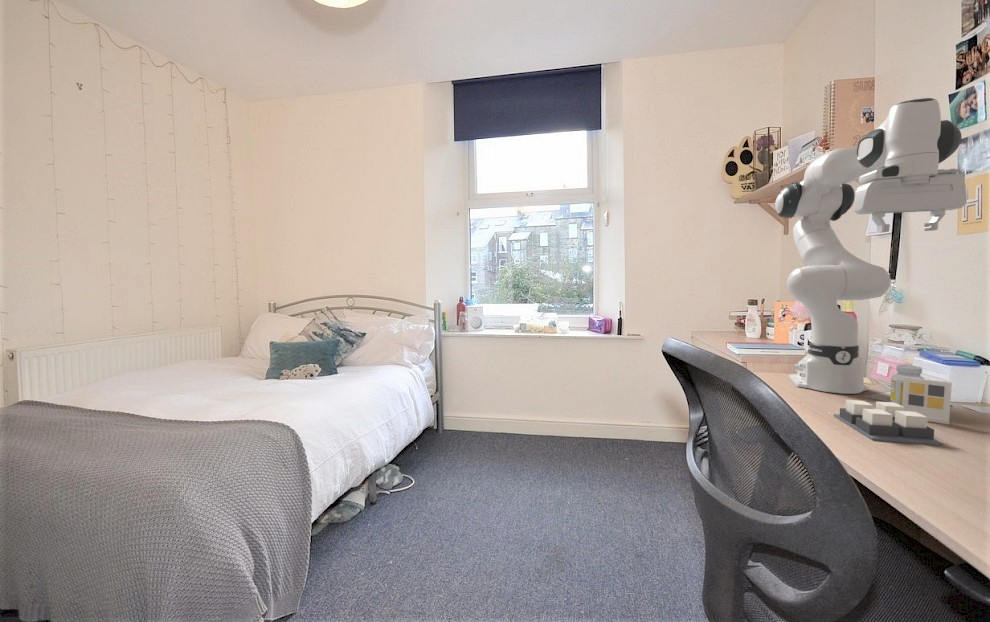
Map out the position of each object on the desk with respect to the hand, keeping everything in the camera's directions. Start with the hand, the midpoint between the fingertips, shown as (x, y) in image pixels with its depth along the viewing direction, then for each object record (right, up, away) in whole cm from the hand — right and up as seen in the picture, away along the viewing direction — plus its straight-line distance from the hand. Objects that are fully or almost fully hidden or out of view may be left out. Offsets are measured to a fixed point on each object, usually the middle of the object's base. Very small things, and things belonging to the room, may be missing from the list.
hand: (906, 231), depth 94 cm
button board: (-7, -46, -2) cm, 47 cm away
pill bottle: (+12, -45, +12) cm, 48 cm away
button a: (-3, -44, +1) cm, 44 cm away
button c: (-9, -44, +2) cm, 45 cm away
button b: (-5, -44, -6) cm, 45 cm away
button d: (-11, -44, -4) cm, 46 cm away
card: (+9, -46, +4) cm, 46 cm away
